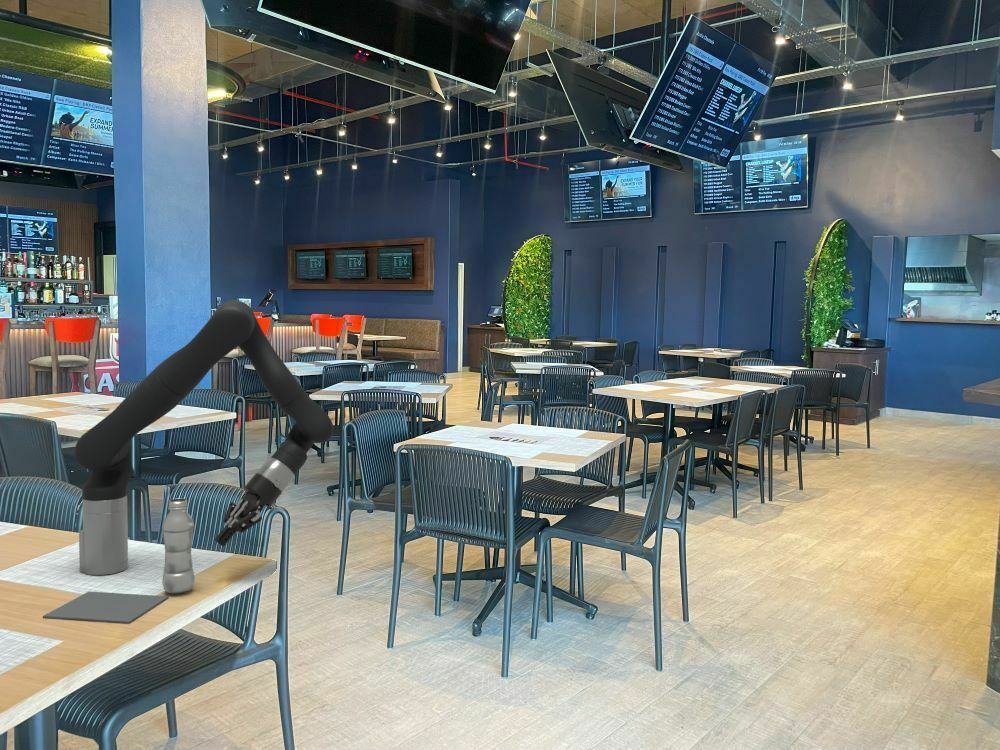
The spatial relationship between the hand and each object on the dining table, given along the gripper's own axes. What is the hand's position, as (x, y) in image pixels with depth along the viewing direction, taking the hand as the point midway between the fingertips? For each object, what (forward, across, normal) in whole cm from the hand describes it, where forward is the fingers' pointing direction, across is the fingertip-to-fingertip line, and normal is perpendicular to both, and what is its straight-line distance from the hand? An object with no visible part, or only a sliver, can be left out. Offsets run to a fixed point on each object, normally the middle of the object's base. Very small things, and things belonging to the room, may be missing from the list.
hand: (218, 543), depth 172 cm
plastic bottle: (+13, 0, 0) cm, 13 cm away
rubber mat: (+23, 0, -10) cm, 25 cm away
